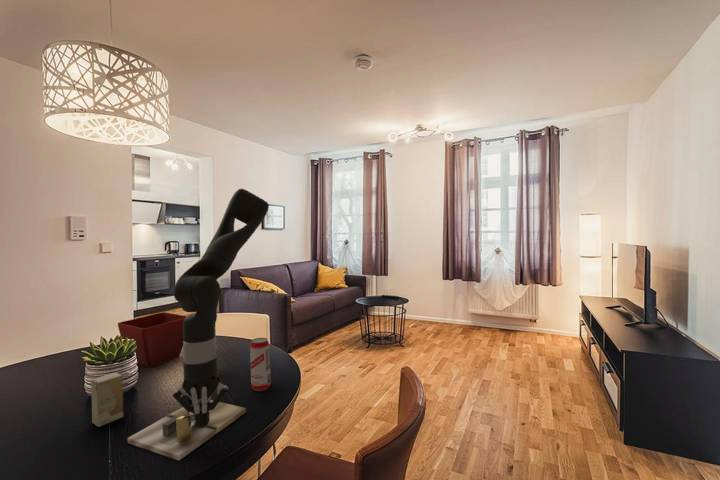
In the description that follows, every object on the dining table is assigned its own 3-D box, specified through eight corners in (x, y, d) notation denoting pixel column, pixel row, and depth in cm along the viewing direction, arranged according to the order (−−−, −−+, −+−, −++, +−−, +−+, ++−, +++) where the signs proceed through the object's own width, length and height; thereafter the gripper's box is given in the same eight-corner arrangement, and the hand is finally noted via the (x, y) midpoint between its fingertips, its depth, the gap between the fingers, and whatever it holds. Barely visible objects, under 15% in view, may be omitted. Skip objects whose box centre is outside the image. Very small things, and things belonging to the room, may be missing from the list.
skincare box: (98, 427, 92) (96, 383, 92) (91, 423, 95) (89, 379, 94) (125, 416, 98) (123, 374, 97) (117, 412, 100) (115, 371, 100)
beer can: (265, 392, 110) (263, 343, 109) (247, 391, 111) (246, 342, 111) (274, 384, 116) (272, 337, 116) (257, 382, 117) (255, 336, 117)
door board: (127, 442, 85) (126, 426, 85) (200, 401, 105) (199, 387, 105) (178, 460, 78) (178, 442, 78) (246, 412, 98) (245, 397, 98)
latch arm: (190, 416, 93) (189, 396, 93) (207, 415, 93) (206, 395, 93) (172, 443, 81) (171, 420, 81) (191, 442, 82) (190, 419, 82)
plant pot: (145, 373, 128) (143, 328, 127) (118, 364, 137) (116, 322, 137) (191, 355, 145) (190, 316, 144) (165, 349, 154) (163, 311, 153)
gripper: (164, 364, 79) (168, 438, 80) (224, 360, 81) (226, 432, 82) (177, 353, 87) (180, 420, 87) (231, 349, 88) (234, 415, 89)
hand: (203, 426), depth 84 cm, fingers closed
